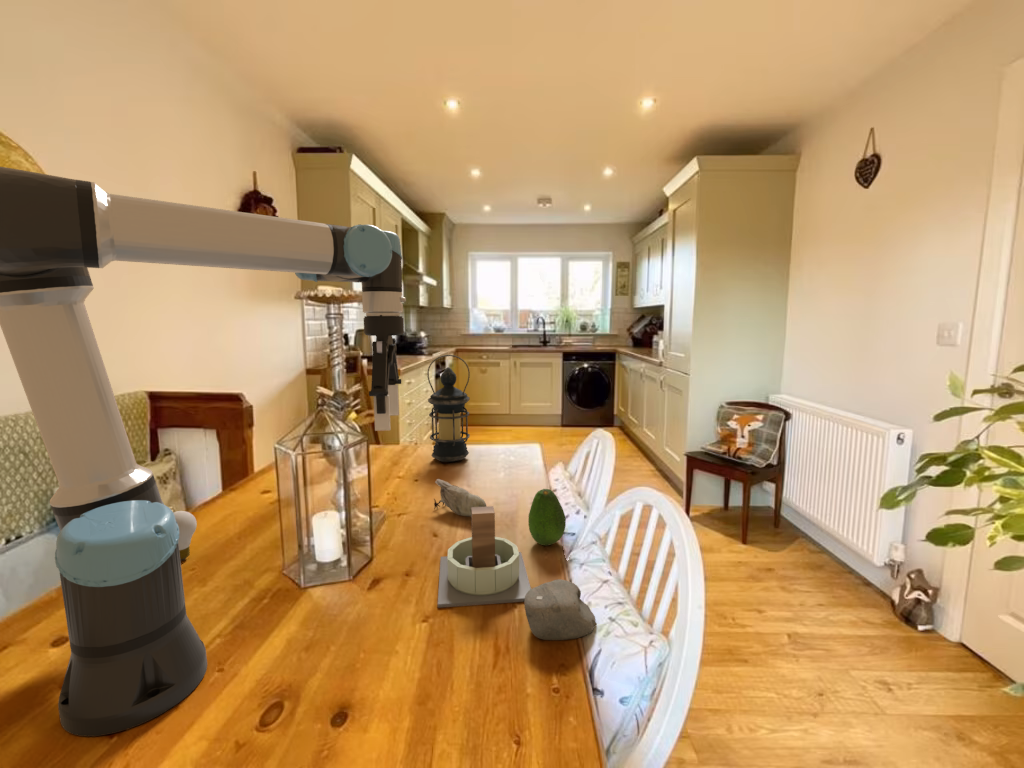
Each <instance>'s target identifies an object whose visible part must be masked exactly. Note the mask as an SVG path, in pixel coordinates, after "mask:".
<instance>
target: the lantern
mask: <svg viewBox="0 0 1024 768" xmlns="http://www.w3.org/2000/svg"><path fill="white" fill-rule="evenodd" d="M445 357H453V358H454V357H455V358H457V359H459V360H460V361H462V362H463V363H464V364H465V366H466V369H467V372H468V373H467V374H468V376H467V382H466V385H465V386H464V389H463V390H461V389H459V388H457V387H455V386H454V385H456V383H457V373H455V372H454V371H453V370H452V368H451V367H450V366H449V367H446V368H445V369H444V371H443V372H442V373H441V374H440V382H441V384H442V386H443V387H441V388H440V389H438V390H436V391H435V390H434V388H433V386H432V383H431V380H430V374H429V373H430V368H431V367H432V364H433V363H434V362H435V361H438V359H441V358H445ZM470 372H471V371H470V368H469V365H468V364H467V363H466V361H465V360H464V359H463V358H461V357H460V356H457V355H454V354H445V355H440V356H437V357H436V358H435V359H433V360H432V361H431V363H430V364H429V366H428V368H427V375H426V377H427V380H428V384H429V386H430V388H431V391H432V394H431V395H430V396H429V398H428V399H427V402H428V403H429V404H430V405H432V408H431V411H430V412H429V414H428V415H429V417H430V418H431V434H430V436H429V439H430V440H431V441H433V442H435V443H434V445H433V449H432V451H433V452H432V453H431V457H432V458H434V459H435V460H437V461H439V462H443V463H445V462H446V463H448V462H449V463H455V462H458V461H462V460H465V459H466V457H467V456H468V455H469V453H470V452H469V450H468V446H467V442H468V439H469V438H470V437H471V435H470V434H469V432H468V431H469V430H468V429H469V427H468V421H469V420H468V417H469V416H470V412H469V411H468V410H467V408H466V407H465V405H466V404H467V403H468V402H469V401H470V397H469V396H468V394H467V393H466V389H467V387H468V385H469V381H470V377H471V373H470ZM464 418H465V431H464ZM434 420H435V423H434ZM434 424H435V425H434ZM434 426H435V427H434ZM434 429H435V430H434ZM434 431H435V432H434ZM464 435H465V437H464Z"/></svg>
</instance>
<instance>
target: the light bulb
mask: <svg viewBox="0 0 1024 768" xmlns="http://www.w3.org/2000/svg"><path fill="white" fill-rule="evenodd" d="M172 512H173V513H174V515H175V520H176V522H177V524H178V527H179V540H178V543H179V552H180V561H181V562H182V561H185V560H186V559H187V558H188V557H189V556H190V549H191V548H190V545H191V543H192V542H191V541H192V538H193V535H194V533H195V532H196V529H197V523H198V521H197V519H196V517H195V515H194V514H192V512H189V511H187V510H186V511H185V510H177V511H172Z"/></svg>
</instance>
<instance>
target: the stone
mask: <svg viewBox="0 0 1024 768" xmlns="http://www.w3.org/2000/svg"><path fill="white" fill-rule="evenodd" d="M581 596H582V592H581V590H580V588H579V586H578V585H577V584H576V583H573V582H572V581H569V580H567V579H561V578H560V579H554V580H552V581H547V582H544V583H542V584H539V585H536V586H535V587H533V588H532V587H531V589H530V590H529V591H528V592H527V593H526V595H525V600H524V602H523V604H524V610H525V611H524V612H525V616H526V619H527V622H528V626H529V629H530V631H531V633H532V634H533V635H534V636H535V637H536V638H537V639H540V640H543V641H566V640H576V639H579V638H583V637H586V636H588V635H590V634H592V633H593V631H594V628H595V627H597V626H598V623H597V622H596V616H595V614H594V613H593V611H592V610H591V609H590V607H589V605H588V604H586V603H585V602H584V601H583V600H582V599H581Z"/></svg>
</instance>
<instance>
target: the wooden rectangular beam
mask: <svg viewBox="0 0 1024 768" xmlns="http://www.w3.org/2000/svg"><path fill="white" fill-rule="evenodd" d="M494 508H495V507H494V505H493V506H492V505H489V506H487V507H471V516H470V517H471V518H470V519H471V537H472V567H474V568H484V567H495V537H496V520H495V519H496V518H495V517H496V516H495V515H496V512H495V509H494Z"/></svg>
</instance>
